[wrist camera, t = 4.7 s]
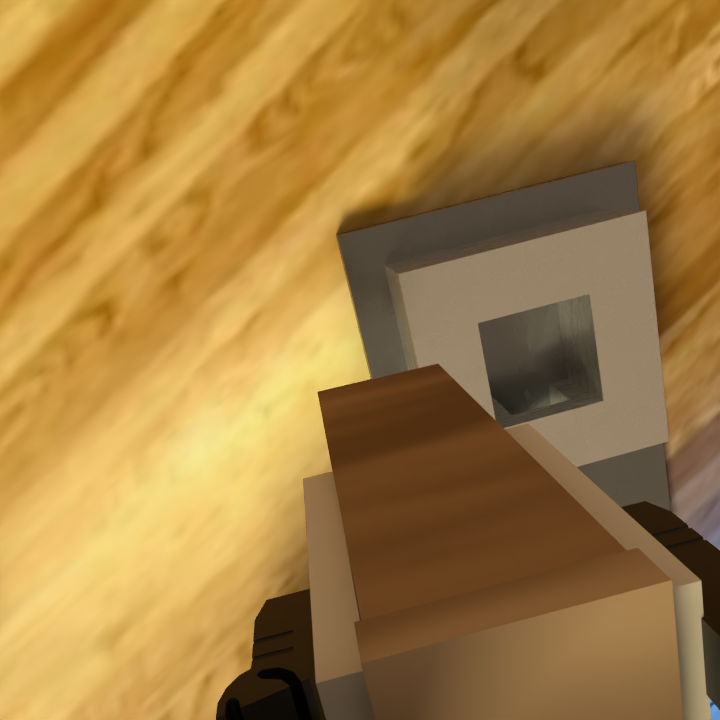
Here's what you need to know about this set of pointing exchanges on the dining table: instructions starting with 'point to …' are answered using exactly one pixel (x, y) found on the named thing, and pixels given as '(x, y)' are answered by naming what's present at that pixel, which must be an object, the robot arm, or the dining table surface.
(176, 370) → the dining table surface
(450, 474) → the peg
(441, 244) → the dock
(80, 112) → the dining table surface
